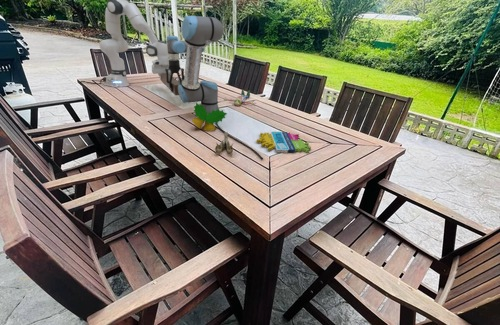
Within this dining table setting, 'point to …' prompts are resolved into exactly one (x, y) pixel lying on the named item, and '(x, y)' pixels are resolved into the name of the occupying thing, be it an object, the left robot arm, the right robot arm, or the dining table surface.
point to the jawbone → (224, 145)
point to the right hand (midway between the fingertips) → (176, 91)
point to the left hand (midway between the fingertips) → (165, 78)
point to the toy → (241, 99)
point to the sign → (283, 142)
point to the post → (174, 82)
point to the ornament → (207, 117)
